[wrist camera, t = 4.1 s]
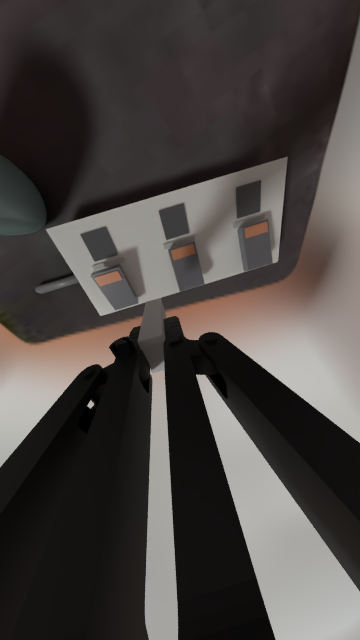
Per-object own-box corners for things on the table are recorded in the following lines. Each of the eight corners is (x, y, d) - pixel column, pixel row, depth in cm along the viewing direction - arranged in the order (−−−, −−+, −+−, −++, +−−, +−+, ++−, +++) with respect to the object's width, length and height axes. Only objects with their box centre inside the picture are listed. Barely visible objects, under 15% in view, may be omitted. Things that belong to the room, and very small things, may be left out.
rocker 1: (92, 271, 17) (89, 276, 16) (120, 263, 17) (118, 267, 16) (116, 305, 21) (115, 311, 20) (138, 299, 21) (138, 303, 20)
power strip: (8, 250, 19) (-28, 250, 16) (264, 173, 20) (289, 154, 16) (64, 320, 25) (47, 332, 21) (261, 259, 25) (279, 261, 22)
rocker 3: (237, 230, 19) (242, 226, 17) (261, 222, 19) (269, 218, 17) (243, 271, 20) (248, 270, 19) (266, 264, 20) (273, 263, 19)
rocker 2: (168, 251, 19) (167, 248, 17) (192, 243, 19) (194, 240, 17) (179, 291, 20) (180, 291, 19) (202, 284, 20) (205, 283, 19)
